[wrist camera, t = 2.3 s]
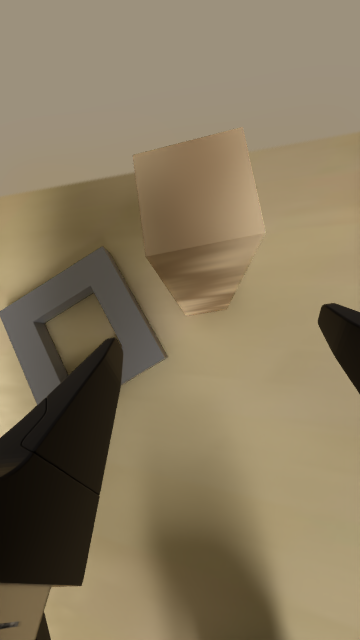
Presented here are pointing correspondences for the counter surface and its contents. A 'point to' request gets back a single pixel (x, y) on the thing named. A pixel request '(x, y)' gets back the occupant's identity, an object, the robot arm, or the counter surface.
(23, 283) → the counter surface
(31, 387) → the socket board
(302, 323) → the counter surface
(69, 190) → the counter surface
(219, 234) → the maple peg
